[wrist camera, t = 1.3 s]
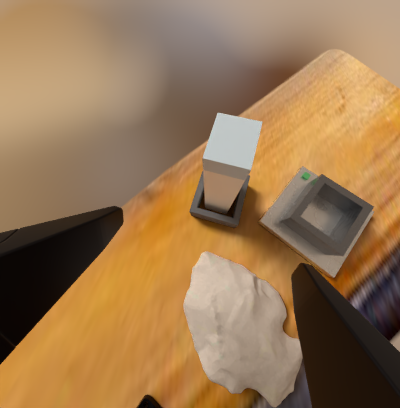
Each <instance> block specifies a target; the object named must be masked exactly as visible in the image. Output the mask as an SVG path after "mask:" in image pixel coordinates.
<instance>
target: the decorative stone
mask: <svg viewBox="0 0 400 408" xmlns="http://www.w3.org/2000/svg"><path fill="white" fill-rule="evenodd" d="M183 307H184V312H185V315H186V318H187V322H188V326H189V330H190V332H191V334H192V339H193V341H194V346H195V349H196V351H197V353H198V355H199V358H200V361H201V363H202V367H203V369H204V371H205V373H206V375H207V377H208V378H209V379H210V380H211V381H212V382H214V383H217V384H219V385H221V386H224V387H225V388H227V389H228V391H229V392H230V393H232V394H234V393H239V394H240V393H242V391H243V390H244V389H246V388H252V389H254V390H257V391H258V392H259V393H260V394H261V395H262V396H263V397H264V398H265V399H266V400H267V401H268V403H269V404H270V405H271V406H272V407H277V406H278V405H279V404H281V402H282V400H284V399H285V398H286V396H287V395H288V394H289V393H291V392H293V391H294V383H295V380H296V375H297V373H298V371H299V369H300V366H301V362H302V358H303V356H302V351H301V346H300V341H299V340H298V339H297V338H291V337H289V336H288V335H287V334H286V333H285V332H284V331H283V322H284V320H285V319H286V317H287V314H286V308H285V305H284V303H283V301H282V298H281V297H280V295H279V293H278V292H277V291H276V290H275V289H274V288H273V287H272V286H271V285H270V284H269V283H268V282H267V281H265V280H262V279H259V278H257V276H256V274H253V273H251V272H250V271H249V270H248V269H246V268H245V267H244V266H243V265H241V264H237V263H234V262H232V261H231V260H227V259H224V258H222V257H220V256H217V255H215V254H213V253H210V252H207V251H206V252H204V253H202V254H201V256H200V259H199V261H198V262H197V264H196V265H195V266H194V267H193V268H192V275H191V284H190V288H189V290H188V291H187V294H186V298H185V300H184V305H183Z"/></svg>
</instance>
